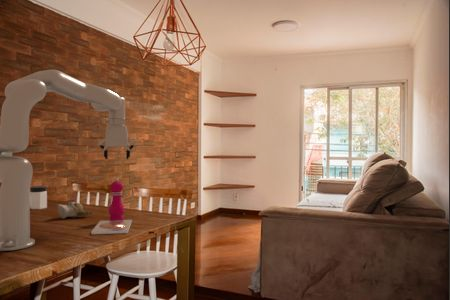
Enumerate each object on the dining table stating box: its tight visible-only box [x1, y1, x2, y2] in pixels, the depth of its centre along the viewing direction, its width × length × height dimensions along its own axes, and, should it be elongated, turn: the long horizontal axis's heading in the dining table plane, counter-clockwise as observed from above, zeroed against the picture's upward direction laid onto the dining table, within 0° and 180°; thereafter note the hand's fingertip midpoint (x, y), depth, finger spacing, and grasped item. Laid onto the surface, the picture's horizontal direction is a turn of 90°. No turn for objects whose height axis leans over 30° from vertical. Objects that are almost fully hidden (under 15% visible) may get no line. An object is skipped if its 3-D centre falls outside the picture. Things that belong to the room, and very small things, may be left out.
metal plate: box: [90, 219, 133, 236], centre depth 149 cm, size 20×14×1 cm
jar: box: [30, 185, 48, 210], centre depth 193 cm, size 9×8×12 cm
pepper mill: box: [108, 177, 125, 220], centre depth 164 cm, size 7×7×20 cm
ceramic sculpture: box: [57, 200, 93, 219], centre depth 170 cm, size 11×9×15 cm
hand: (117, 158), depth 164 cm, fingers open, 9 cm apart
